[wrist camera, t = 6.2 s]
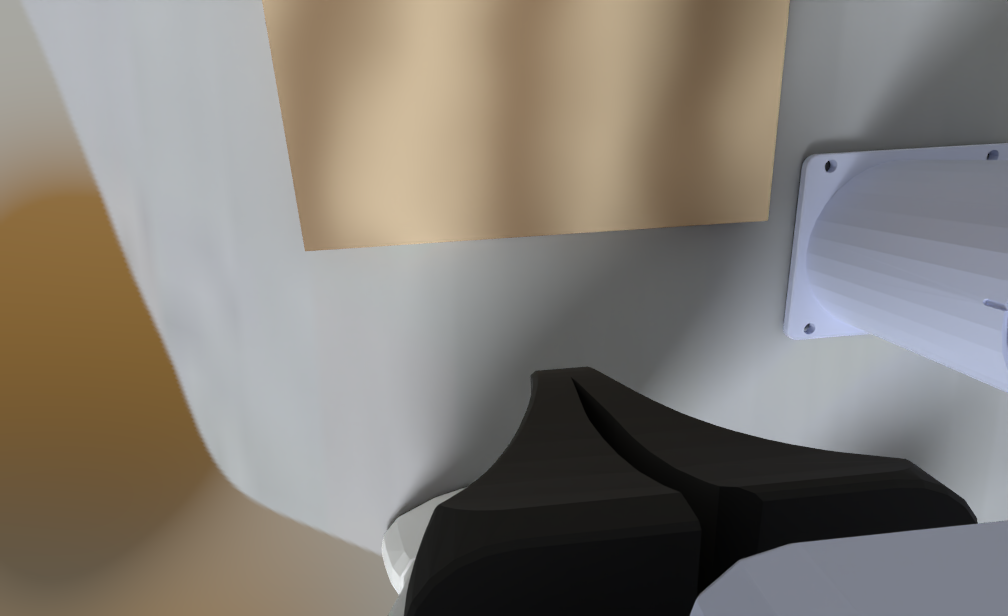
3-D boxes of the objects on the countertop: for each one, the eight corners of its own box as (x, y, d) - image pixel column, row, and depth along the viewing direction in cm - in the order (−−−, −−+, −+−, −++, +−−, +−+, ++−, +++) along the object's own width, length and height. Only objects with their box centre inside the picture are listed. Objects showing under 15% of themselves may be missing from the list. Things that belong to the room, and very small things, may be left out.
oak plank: (771, -59, 18) (797, -77, 17) (747, 216, 21) (767, 220, 20) (269, -43, 17) (251, -61, 16) (316, 244, 20) (305, 251, 19)
